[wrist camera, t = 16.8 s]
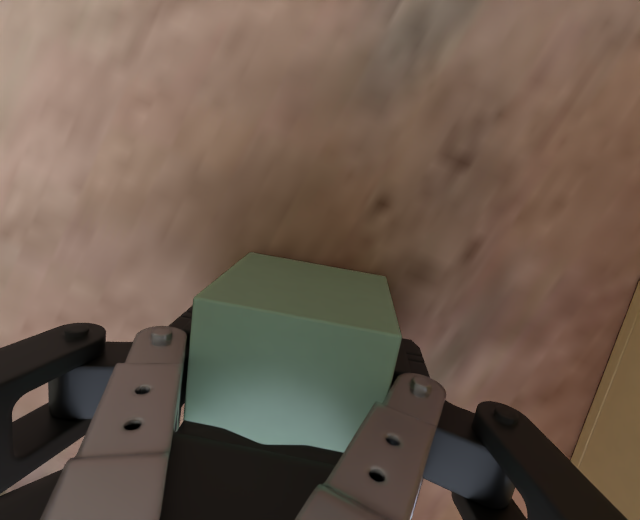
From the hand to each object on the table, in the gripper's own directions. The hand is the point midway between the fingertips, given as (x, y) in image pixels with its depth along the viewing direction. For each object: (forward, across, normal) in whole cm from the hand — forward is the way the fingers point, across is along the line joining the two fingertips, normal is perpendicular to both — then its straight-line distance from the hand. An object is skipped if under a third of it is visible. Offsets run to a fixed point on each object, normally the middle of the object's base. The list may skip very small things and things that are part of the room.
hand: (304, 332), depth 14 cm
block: (0, 0, 0) cm, 0 cm away
